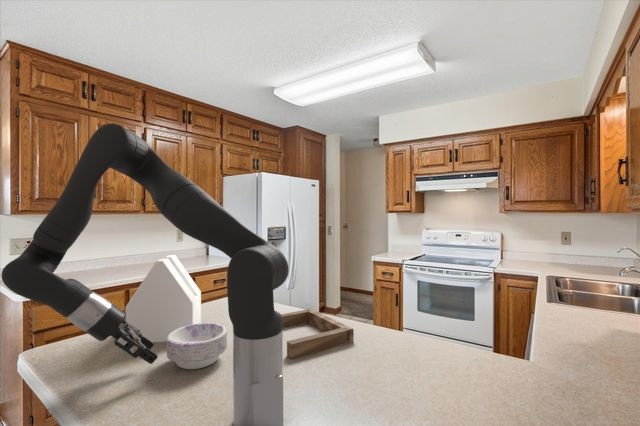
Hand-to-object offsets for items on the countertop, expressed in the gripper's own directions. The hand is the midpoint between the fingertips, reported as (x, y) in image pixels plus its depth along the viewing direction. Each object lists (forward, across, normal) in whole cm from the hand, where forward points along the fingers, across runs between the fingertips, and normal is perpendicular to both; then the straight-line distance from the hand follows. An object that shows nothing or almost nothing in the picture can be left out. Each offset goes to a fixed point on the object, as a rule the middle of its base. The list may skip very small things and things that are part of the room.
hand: (152, 353), depth 82 cm
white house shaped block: (+8, +28, -1) cm, 29 cm away
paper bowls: (+11, 0, -4) cm, 12 cm away
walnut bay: (+34, 0, -27) cm, 43 cm away
